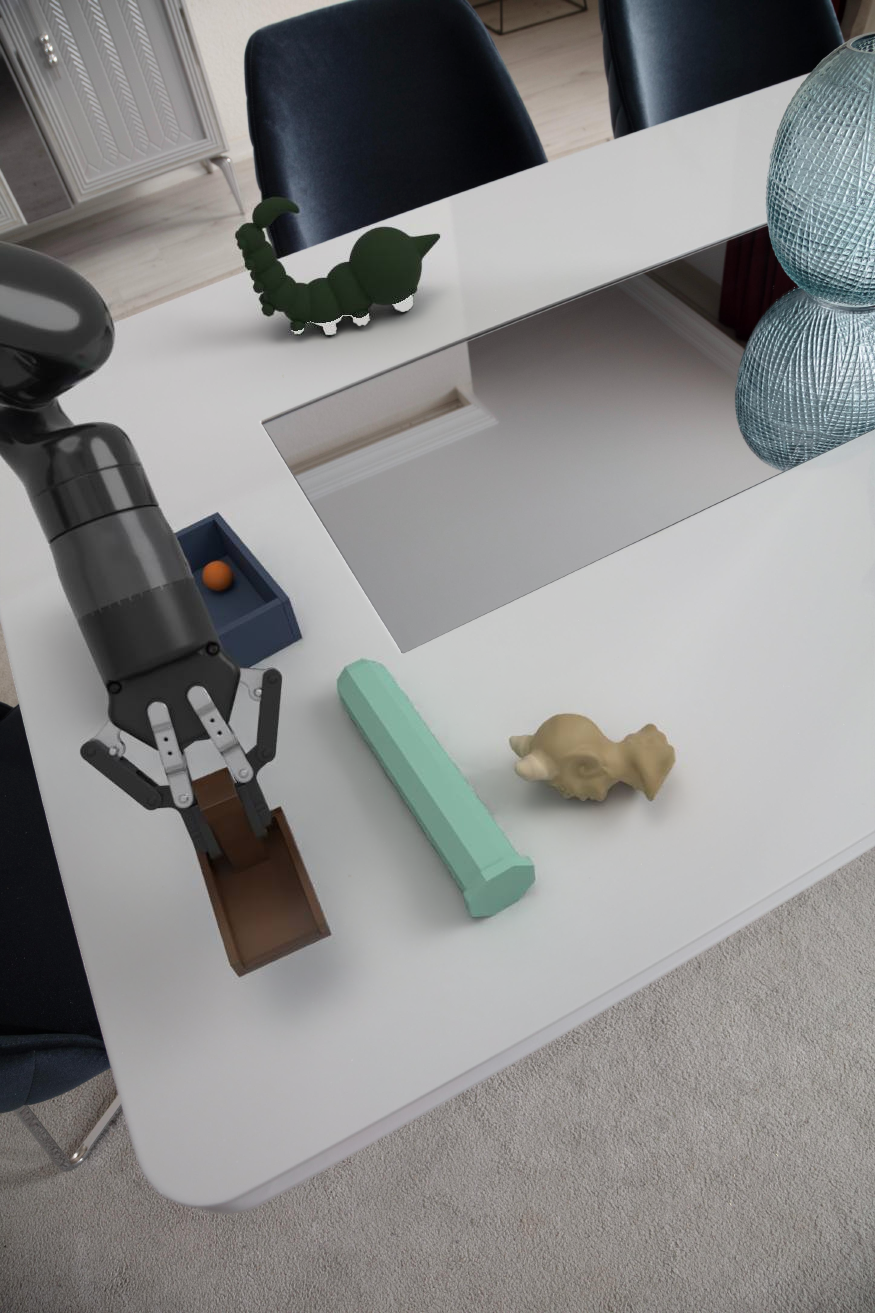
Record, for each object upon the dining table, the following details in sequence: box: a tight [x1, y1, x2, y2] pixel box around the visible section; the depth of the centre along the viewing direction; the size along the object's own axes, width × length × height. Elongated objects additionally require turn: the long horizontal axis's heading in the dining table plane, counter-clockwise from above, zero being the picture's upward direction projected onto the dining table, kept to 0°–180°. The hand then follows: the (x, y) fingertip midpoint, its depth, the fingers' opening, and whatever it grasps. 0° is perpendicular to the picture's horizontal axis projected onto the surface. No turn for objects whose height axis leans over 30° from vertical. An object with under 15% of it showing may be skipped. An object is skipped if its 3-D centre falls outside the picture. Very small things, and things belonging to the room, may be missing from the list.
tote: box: [174, 511, 303, 668], centre depth 89 cm, size 16×16×6 cm
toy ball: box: [202, 561, 233, 591], centre depth 92 cm, size 3×3×3 cm
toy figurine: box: [234, 196, 441, 331], centre depth 118 cm, size 9×19×25 cm
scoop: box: [191, 766, 333, 978], centre depth 59 cm, size 10×6×9 cm
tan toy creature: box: [508, 712, 676, 802], centre depth 73 cm, size 8×7×12 cm
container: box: [336, 658, 536, 918], centre depth 75 cm, size 6×6×25 cm
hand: (240, 844), depth 60 cm, fingers closed on scoop, 2 cm apart
